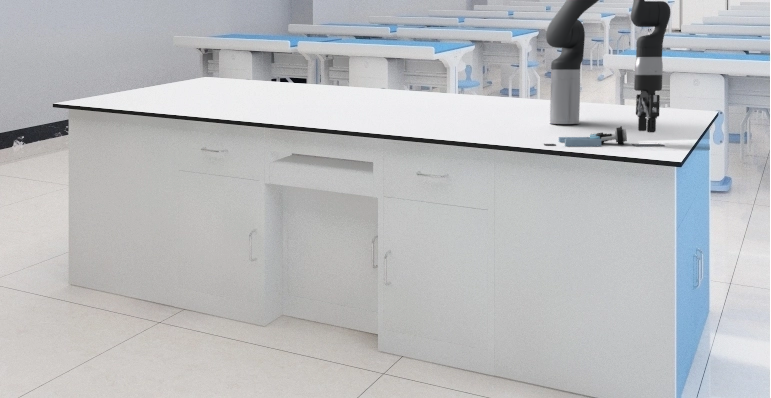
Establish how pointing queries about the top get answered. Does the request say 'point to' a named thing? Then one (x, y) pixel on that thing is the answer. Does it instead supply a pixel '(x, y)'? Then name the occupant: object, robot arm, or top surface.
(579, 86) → the robot arm
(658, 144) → the mat
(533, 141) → the top surface
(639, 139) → the top surface
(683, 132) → the top surface
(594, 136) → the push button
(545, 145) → the trap plate
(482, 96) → the top surface
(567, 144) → the channel
